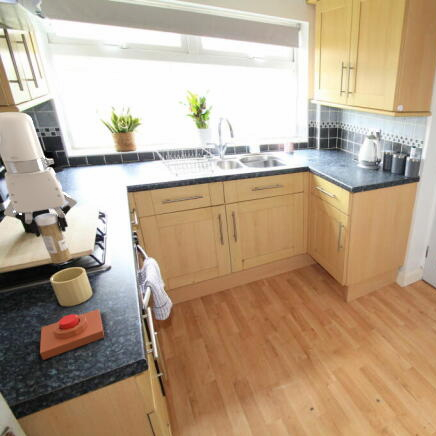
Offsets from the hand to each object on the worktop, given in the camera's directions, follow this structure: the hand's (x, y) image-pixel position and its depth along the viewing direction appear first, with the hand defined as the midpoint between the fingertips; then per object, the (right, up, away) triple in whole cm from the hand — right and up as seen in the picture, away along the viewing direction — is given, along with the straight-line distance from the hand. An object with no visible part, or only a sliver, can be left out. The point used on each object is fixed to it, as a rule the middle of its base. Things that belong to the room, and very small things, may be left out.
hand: (51, 231), depth 85 cm
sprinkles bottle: (0, -8, +4) cm, 9 cm away
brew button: (+10, -23, -6) cm, 26 cm away
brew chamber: (-1, -20, +9) cm, 22 cm away
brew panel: (+9, -26, -4) cm, 28 cm away
